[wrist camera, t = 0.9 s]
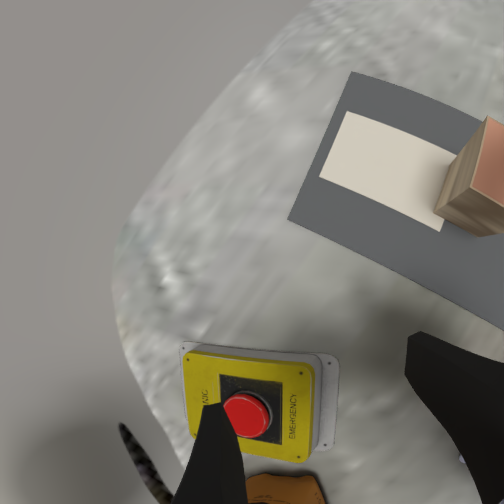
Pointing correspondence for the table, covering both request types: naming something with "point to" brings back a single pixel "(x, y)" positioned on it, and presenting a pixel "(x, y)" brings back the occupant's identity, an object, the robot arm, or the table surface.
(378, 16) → the table surface
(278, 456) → the emergency button
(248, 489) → the coffee package
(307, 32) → the table surface
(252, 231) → the table surface
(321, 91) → the table surface
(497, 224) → the wooden block
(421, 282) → the rubber mat
